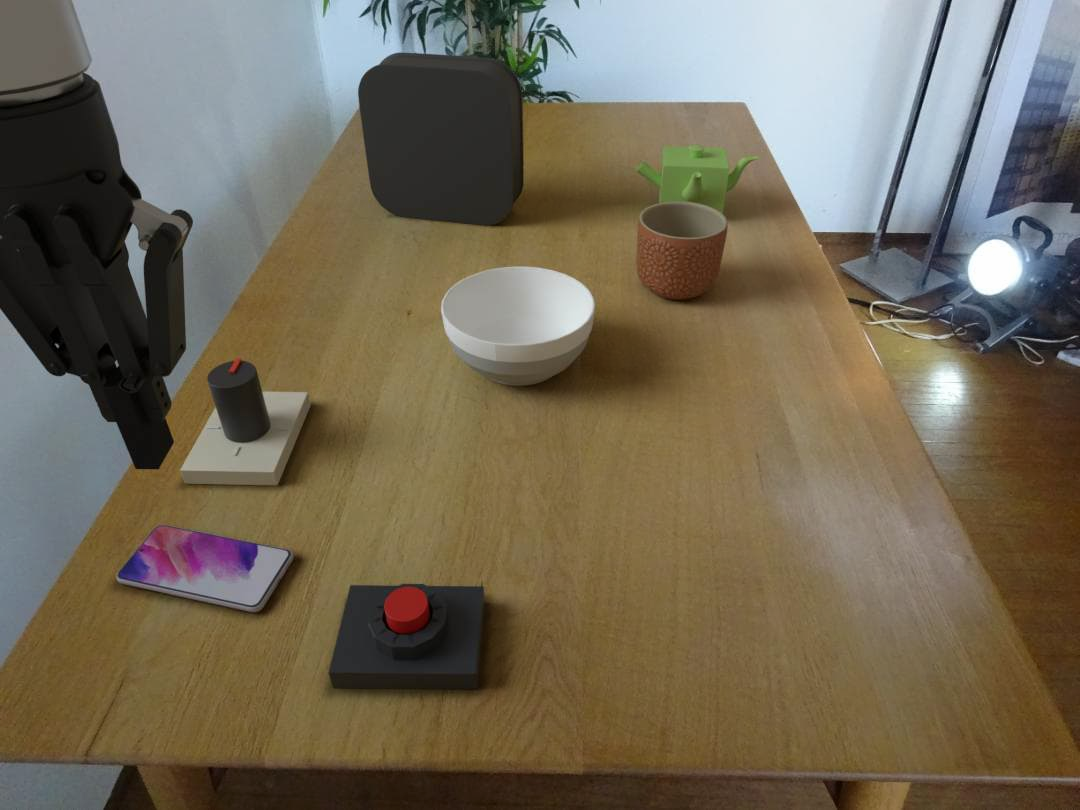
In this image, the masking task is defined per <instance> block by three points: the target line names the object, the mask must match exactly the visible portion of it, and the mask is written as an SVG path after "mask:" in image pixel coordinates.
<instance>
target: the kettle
mask: <svg viewBox="0 0 1080 810" xmlns="http://www.w3.org/2000/svg"><path fill="white" fill-rule="evenodd" d="M759 158H760V157H758V156H753V155H749V156H744V157H742V158H741V159H739V161H738V162H737V163H736V165H735V168H734V169H733V170H732V171H731V172H730V165H729V164H730V163H729V158H728V153H727V148H726V147H710V146H709V147H707V146H702V145H699V144H692V145H689V146H687V145H686V146H683V145H663V148H662V159H661V169H660V172H658V171H657V170H655V169H654V168H653V167H652V166H651V165H649V164H648V163H647V162H646V161H645V160H644V161H641V162H640V163H639V164H638V166H637V168H636V169H635V172H637V173H638V174H639V175H640V176H642V177H643V178H645V179H646V180H647V181H648V182H650V183H651V184H652V185H653V186H655V187H656V188H658V189H659V191H658V194H659V195H658V196H659V197H658V198H659V199H658V200H659V203H663V202H672V201H683V202H693V203H698V204H703V205H706V206H709V207H712V208H714V209H716V210H718V211H719V212H721V213H722V214H723V215H724V208H725V202H726V195H727V193H729V192H730V191H731V190H733V189H734V188H735V187H736V186H737V184H738V182H739V180H740V178H741V176H742V174H743V172H744V170H745V169H746V167H747V166H748V165H749V164H750V163H751V162H753V161H755V160H758V159H759Z"/></svg>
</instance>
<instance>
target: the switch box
mask: <svg viewBox="0 0 1080 810" xmlns="http://www.w3.org/2000/svg"><path fill="white" fill-rule="evenodd" d="M402 587H415V588H418V589H420V590H422V591H423V592H424V593H425V594H426V596H427V599H428V605H429V613H430V616H429V620H428V622H427V624H426V625H425V626H424V627H423V628H422V629H421V630H419V631H417V632H415V633H412V634H399V633H396V632H394V631H393V630H392V629H390V627H389V626H388V624H387V620H386V615H385V609H384V604H385V601H386V599H387V597H388V596H389V595H390V594H391V593H392V592H393V591H395V590H397V589H399V588H402ZM485 604H486V603H485V587H484V586H483V585H482V586H479V585H477V586H476V585H469V586H468V585H426V584H425V583H401V584H398V585H384V584H383V585H379V584H377V585H375V584H374V585H373V584H372V585H371V584H370V585H369V584H368V585H367V584H363V585H362V584H360V585H359V584H350V585H349V588H348V593H347V596H346V600H345V605H344V609H343V612H342V617H341V621H340V625H339V629H338V633H337V637H336V641H335V644H334V649H333V653H332V656H331V660H330V664H329V669H328V676H329V680H330V683H331V686H332V689H391V690H392V689H394V690H395V689H396V690H397V689H398V690H399V689H402V690H403V689H404V690H405V689H406V690H408V689H409V690H415V689H416V690H478V687H479V675H480V663H481V652H482V651H481V649H482V641H483V640H482V639H483V629H484V627H483V626H484V615H485Z"/></svg>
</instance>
